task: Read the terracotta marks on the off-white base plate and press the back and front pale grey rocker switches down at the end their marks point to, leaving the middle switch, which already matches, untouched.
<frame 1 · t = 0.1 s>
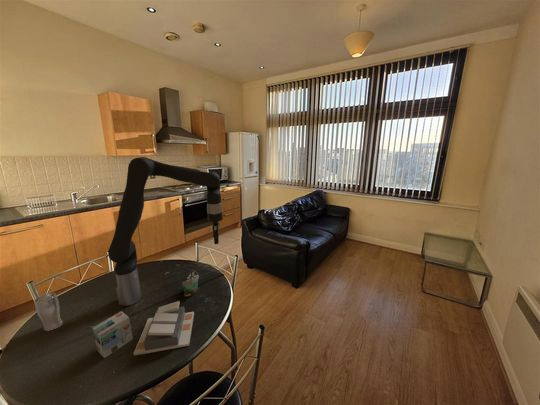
hand: (216, 240, 116), 29 cm above the table, fingers open, 8 cm apart
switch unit: (167, 332, 94), on the table
light bulb box: (115, 344, 88), on the table
beer glass: (53, 326, 97), on the table
rocker middle: (165, 318, 92), point 7 cm above the table, hinge at 13.0°
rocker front: (162, 329, 87), point 7 cm above the table, hinge at 13.0°
food container: (193, 292, 120), on the table
rocker back: (168, 308, 98), point 7 cm above the table, hinge at -13.0°
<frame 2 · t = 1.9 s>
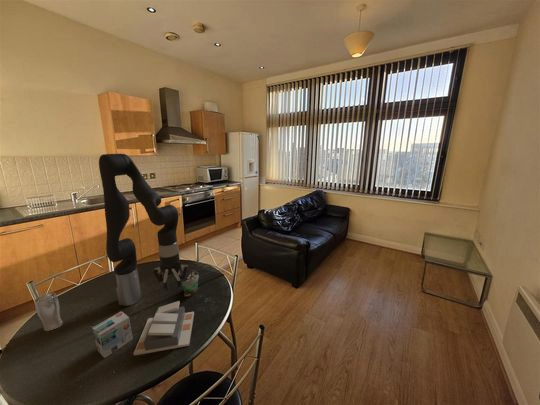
hand: (173, 287, 96), 17 cm above the table, fingers open, 4 cm apart
nothing on the table moved.
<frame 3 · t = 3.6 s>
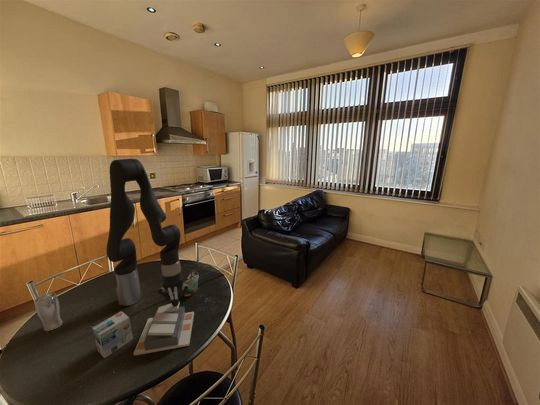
hand: (175, 305, 98), 8 cm above the table, fingers closed
rocker back: (168, 308, 98), point 7 cm above the table, hinge at -13.0°, touching gripper
everything else where it was.
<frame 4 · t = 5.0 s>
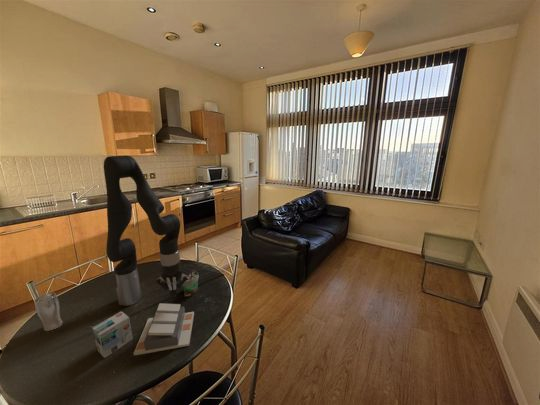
hand: (174, 295, 97), 13 cm above the table, fingers closed
rocker back: (169, 308, 98), point 7 cm above the table, hinge at 13.4°
everything else where it was.
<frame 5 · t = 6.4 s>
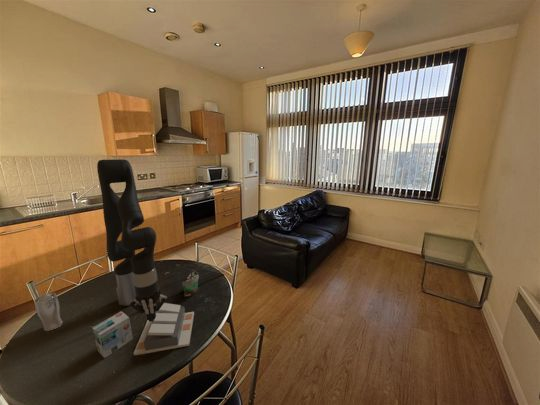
hand: (152, 319, 85), 12 cm above the table, fingers closed
rocker back: (169, 308, 98), point 7 cm above the table, hinge at 19.9°, touching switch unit
everything else where it was.
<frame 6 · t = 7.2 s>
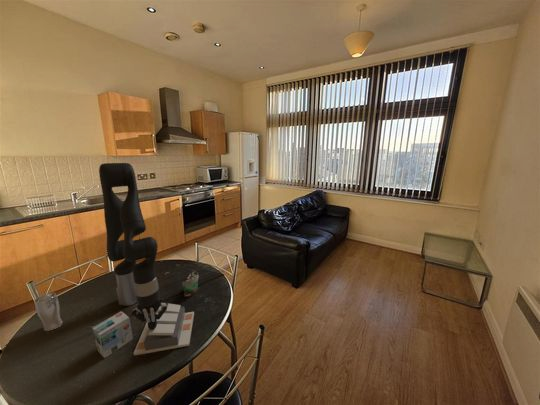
hand: (153, 327, 86), 9 cm above the table, fingers closed
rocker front: (162, 329, 87), point 7 cm above the table, hinge at 13.0°, touching gripper
rocker back: (169, 308, 98), point 7 cm above the table, hinge at 19.2°
everything else where it was.
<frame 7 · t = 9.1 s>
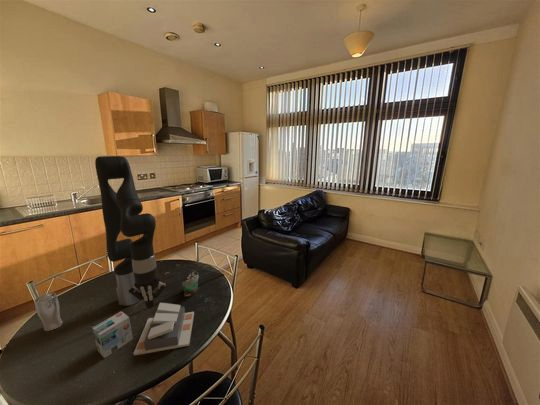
hand: (150, 306, 84), 17 cm above the table, fingers closed
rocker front: (161, 329, 87), point 7 cm above the table, hinge at -14.6°
rocker back: (169, 308, 98), point 7 cm above the table, hinge at 18.6°
everything else where it was.
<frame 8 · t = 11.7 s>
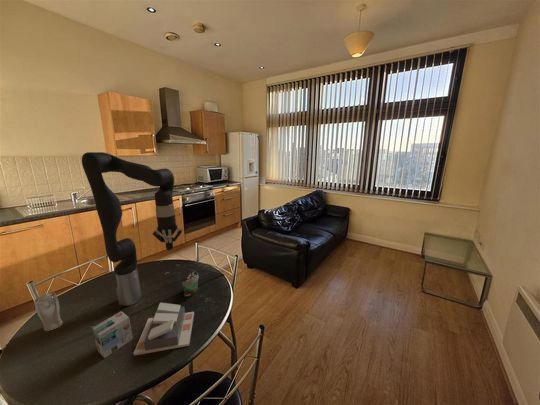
hand: (170, 249, 102), 31 cm above the table, fingers closed
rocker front: (161, 329, 87), point 7 cm above the table, hinge at -19.9°, touching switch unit
everything else where it was.
at the end: rocker back at +18° (first picture: -13°); rocker middle at +13° (first picture: +13°); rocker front at -20° (first picture: +13°) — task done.
